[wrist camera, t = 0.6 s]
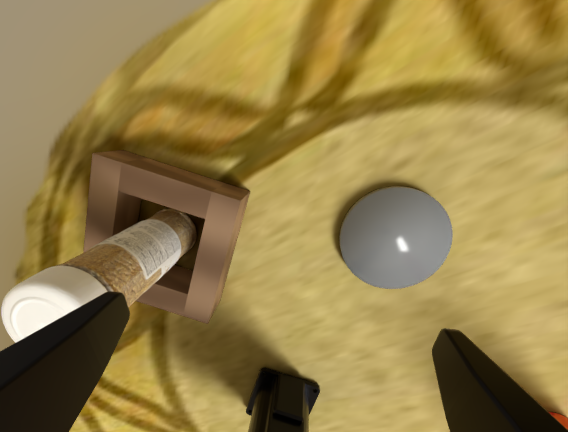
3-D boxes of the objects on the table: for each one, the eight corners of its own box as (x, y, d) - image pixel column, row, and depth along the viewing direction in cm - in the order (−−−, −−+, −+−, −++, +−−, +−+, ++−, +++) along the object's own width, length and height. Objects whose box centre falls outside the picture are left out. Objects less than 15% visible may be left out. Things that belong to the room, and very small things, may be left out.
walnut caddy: (220, 300, 28) (207, 323, 24) (108, 264, 28) (80, 283, 24) (250, 191, 24) (240, 200, 21) (122, 149, 24) (92, 153, 21)
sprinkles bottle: (167, 259, 27) (36, 377, 14) (141, 218, 26) (-25, 303, 13) (207, 242, 26) (107, 351, 13) (182, 198, 25) (47, 269, 12)
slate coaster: (419, 296, 26) (422, 301, 25) (324, 266, 26) (325, 270, 25) (467, 205, 23) (473, 208, 22) (362, 171, 23) (364, 173, 22)
